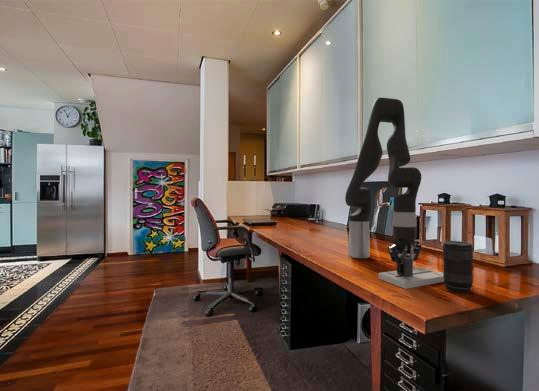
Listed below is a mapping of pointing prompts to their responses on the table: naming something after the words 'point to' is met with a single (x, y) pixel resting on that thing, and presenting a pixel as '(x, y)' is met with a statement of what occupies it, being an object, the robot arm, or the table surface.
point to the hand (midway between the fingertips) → (404, 273)
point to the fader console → (413, 278)
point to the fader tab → (408, 267)
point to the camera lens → (458, 266)
